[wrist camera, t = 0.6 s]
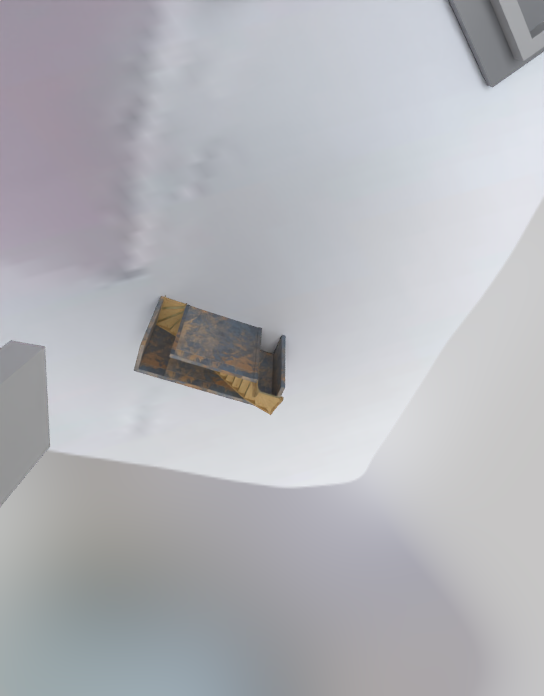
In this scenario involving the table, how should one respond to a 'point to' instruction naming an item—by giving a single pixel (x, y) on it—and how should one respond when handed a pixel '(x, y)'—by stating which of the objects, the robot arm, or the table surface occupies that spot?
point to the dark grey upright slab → (212, 355)
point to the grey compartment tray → (501, 33)
